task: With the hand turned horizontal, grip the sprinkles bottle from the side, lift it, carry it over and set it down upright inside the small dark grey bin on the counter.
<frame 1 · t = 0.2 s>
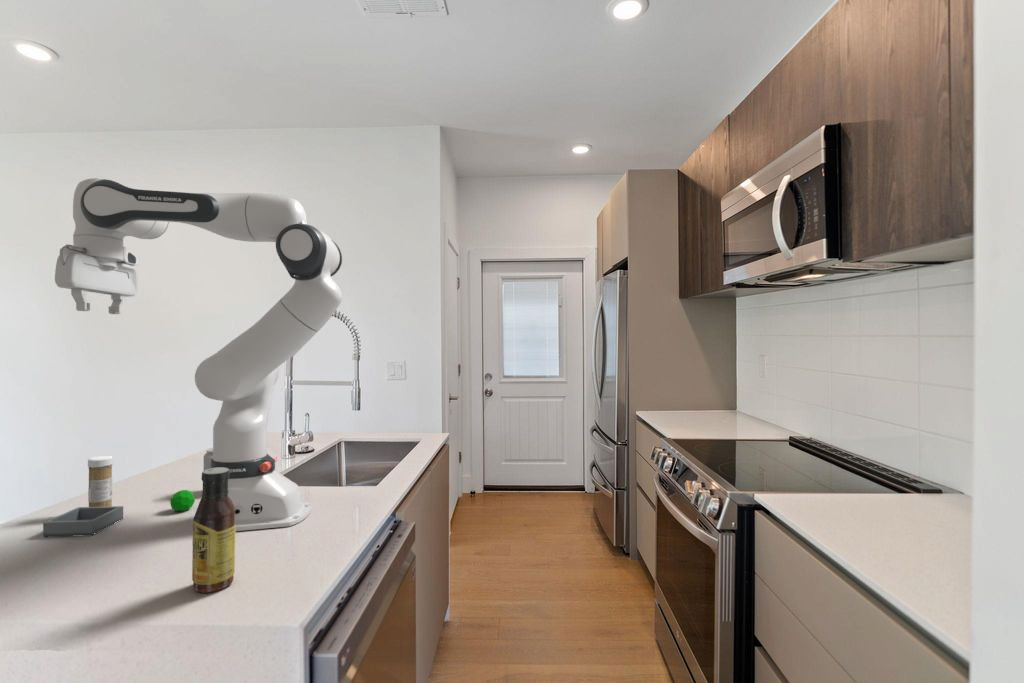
hand: (99, 312, 114), 48 cm above the counter, tool pointing down, fingers open, 8 cm apart
sprinkles bottle: (100, 514, 119), on the counter
sauce bottle: (214, 587, 85), on the counter
polyhedron: (182, 511, 121), on the counter
bin: (85, 527, 110), on the counter
can: (219, 493, 135), on the counter
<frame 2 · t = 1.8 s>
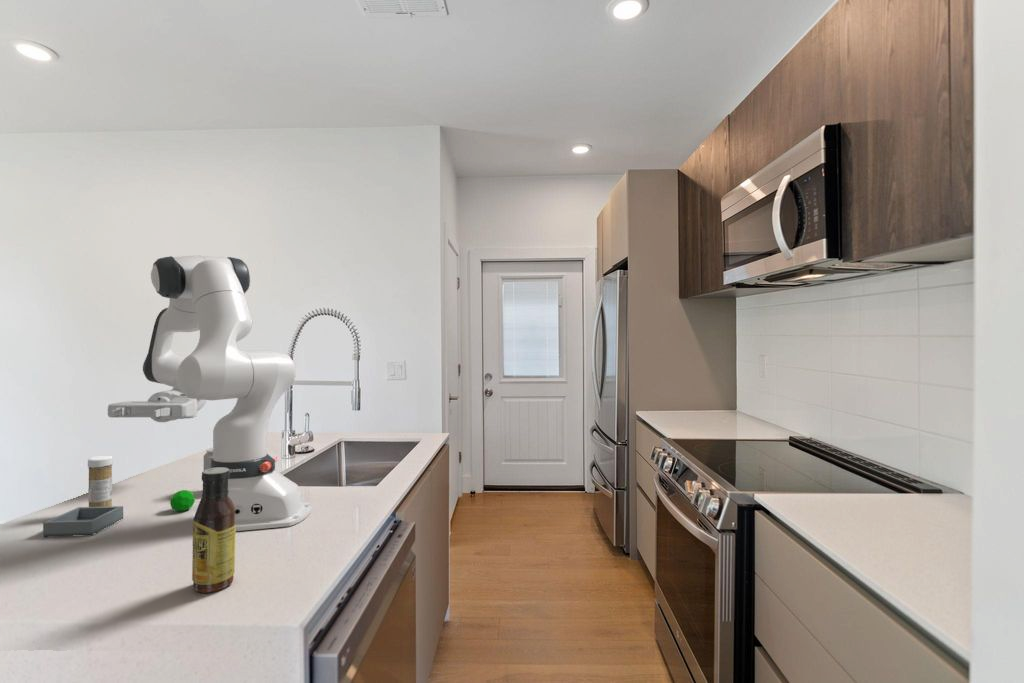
hand: (134, 413, 131), 22 cm above the counter, tool horizontal, fingers open, 8 cm apart
nothing on the counter moved.
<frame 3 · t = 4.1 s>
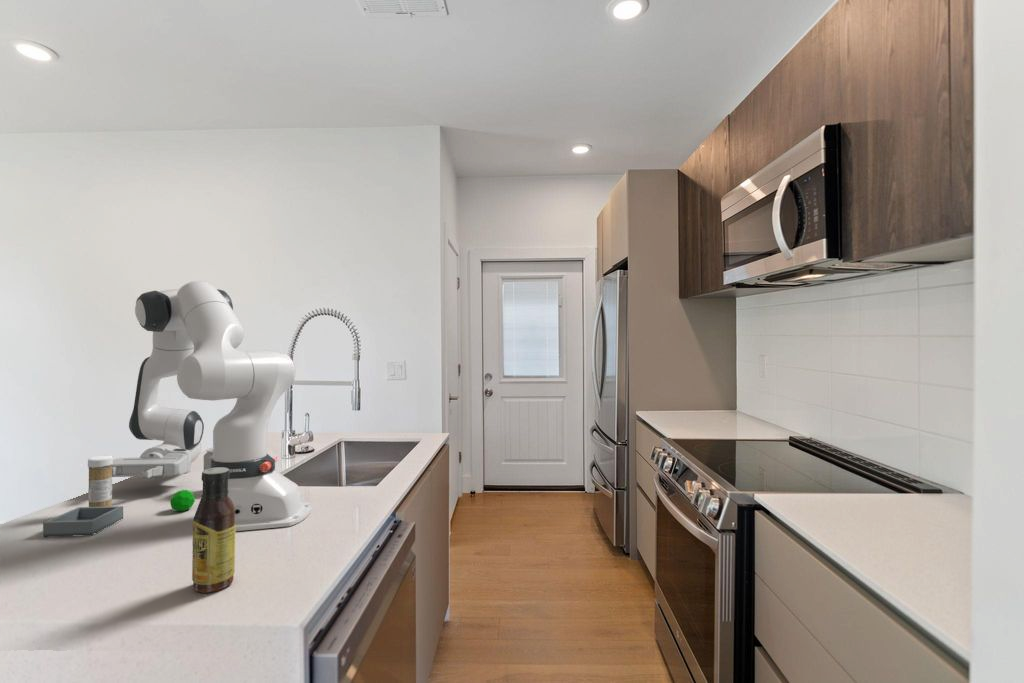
hand: (125, 475, 127), 7 cm above the counter, tool horizontal, fingers open, 8 cm apart
nothing on the counter moved.
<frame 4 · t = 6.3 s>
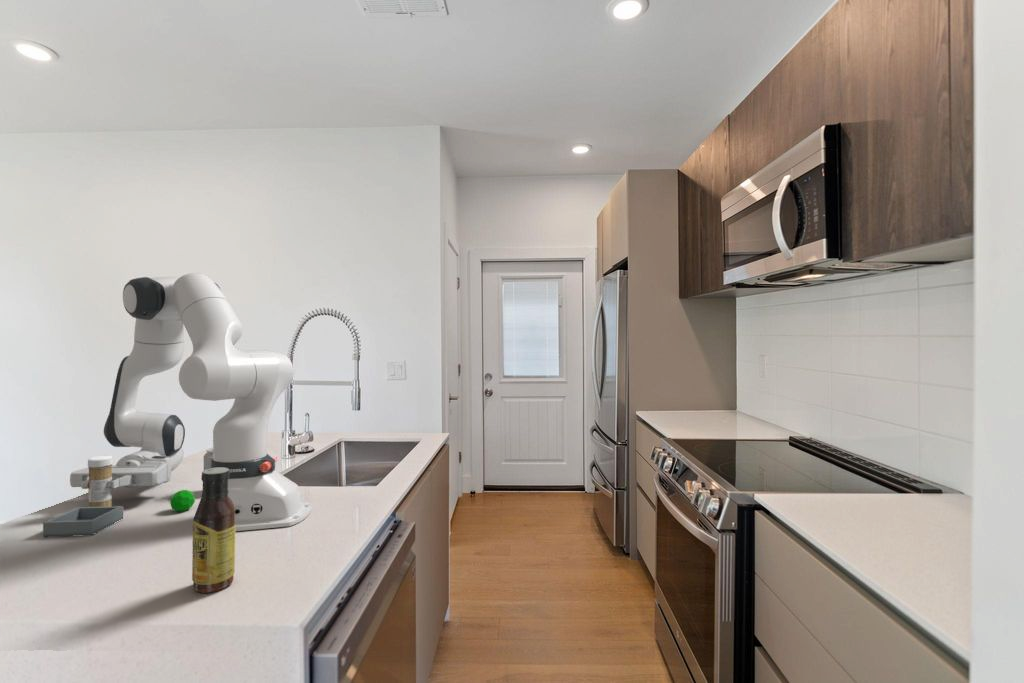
hand: (97, 485, 118), 7 cm above the counter, tool horizontal, fingers closed on sprinkles bottle, 4 cm apart
sprinkles bottle: (100, 514, 119), on the counter, touching gripper
everything else where it was.
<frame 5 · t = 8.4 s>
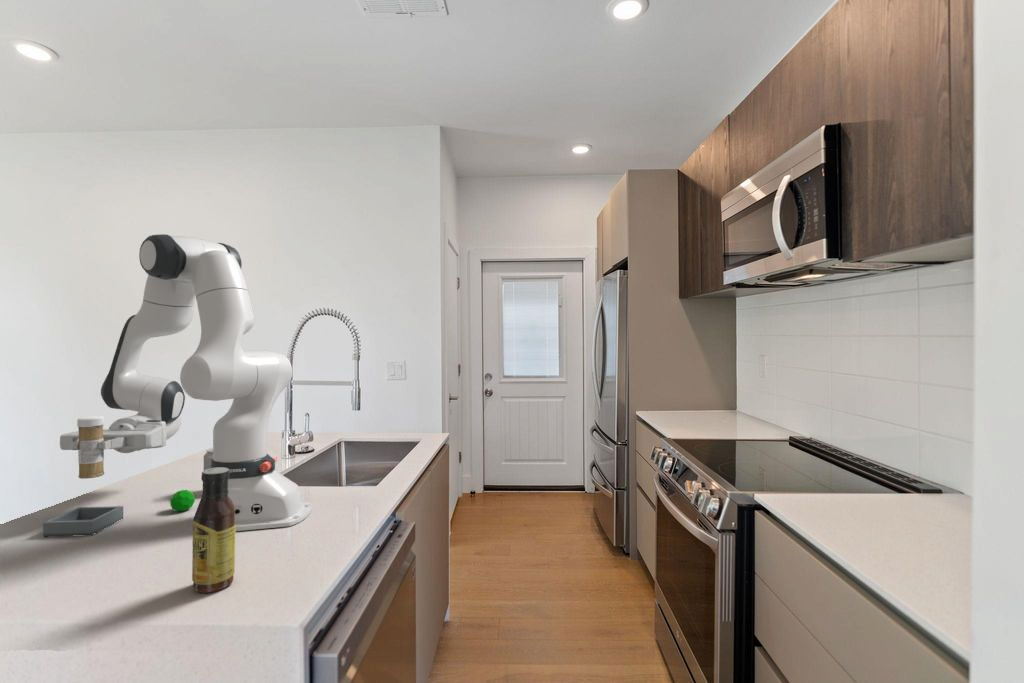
hand: (88, 446, 112), 18 cm above the counter, tool horizontal, fingers closed on sprinkles bottle, 4 cm apart
sprinkles bottle: (91, 477, 113), point 10 cm above the counter, touching gripper
everything else where it was.
when the fingers open (9 cm above the counter, at t = 10.7 s): sprinkles bottle drops 1 cm, resting on bin.
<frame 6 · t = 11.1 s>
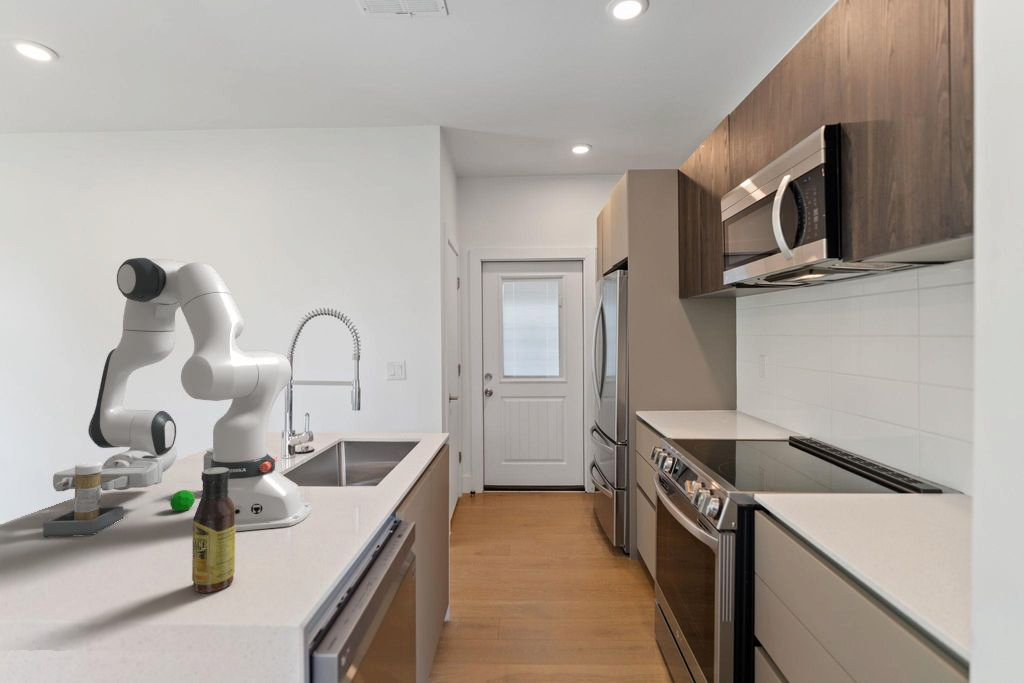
hand: (82, 487, 109), 9 cm above the counter, tool horizontal, fingers open, 8 cm apart
sprinkles bottle: (86, 525, 110), resting on bin
everything else where it was.
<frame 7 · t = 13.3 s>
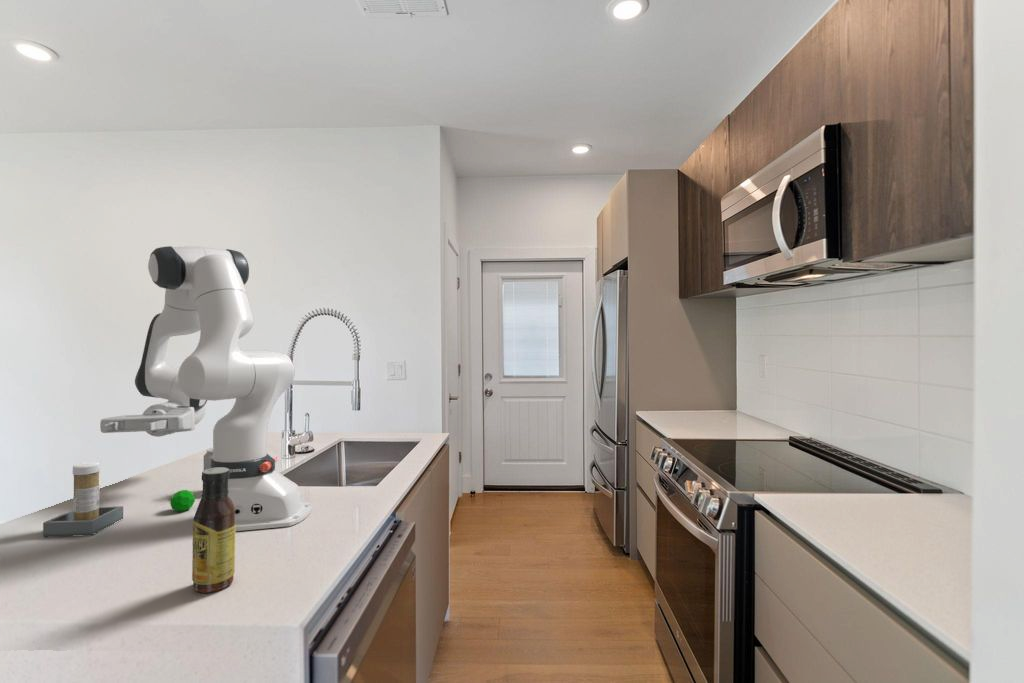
hand: (127, 427, 123), 20 cm above the counter, tool horizontal, fingers open, 8 cm apart
nothing on the counter moved.
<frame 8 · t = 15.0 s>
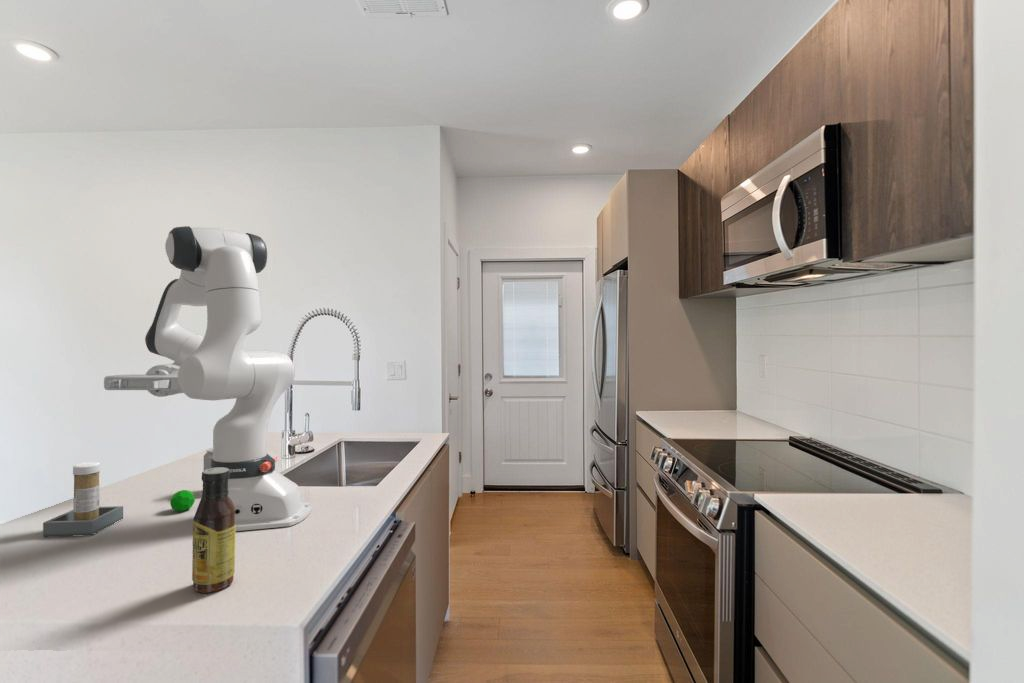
hand: (131, 385, 125), 30 cm above the counter, tool horizontal, fingers open, 8 cm apart
nothing on the counter moved.
at the end: sprinkles bottle inside the target area on the bin (0.2 cm from its centre), point 0.4 cm above the bin's base; sprinkles bottle tilted 0°; the gripper is holding nothing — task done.
